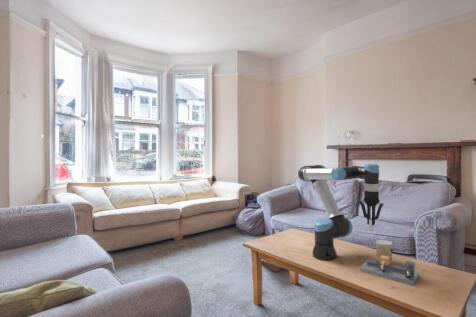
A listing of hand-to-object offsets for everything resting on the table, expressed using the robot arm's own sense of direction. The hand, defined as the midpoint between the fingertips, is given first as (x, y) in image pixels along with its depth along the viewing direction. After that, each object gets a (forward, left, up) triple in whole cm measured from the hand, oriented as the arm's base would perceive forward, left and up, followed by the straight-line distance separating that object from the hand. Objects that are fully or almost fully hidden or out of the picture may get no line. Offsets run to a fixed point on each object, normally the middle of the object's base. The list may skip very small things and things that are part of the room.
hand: (371, 230), depth 156 cm
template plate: (+10, -4, -22) cm, 24 cm away
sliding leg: (+7, -3, -19) cm, 21 cm away
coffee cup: (+4, +12, -22) cm, 25 cm away
